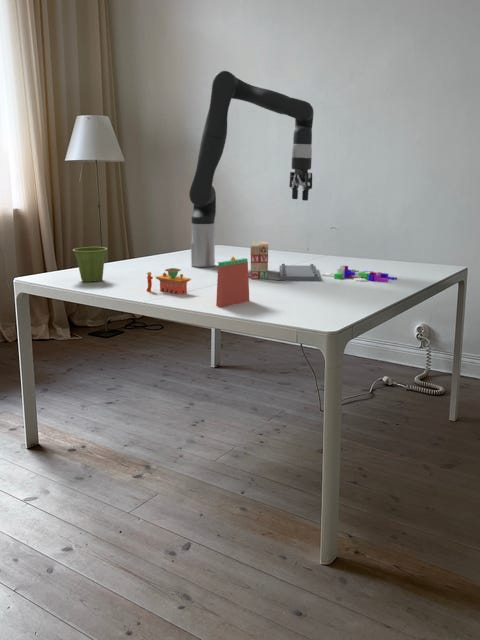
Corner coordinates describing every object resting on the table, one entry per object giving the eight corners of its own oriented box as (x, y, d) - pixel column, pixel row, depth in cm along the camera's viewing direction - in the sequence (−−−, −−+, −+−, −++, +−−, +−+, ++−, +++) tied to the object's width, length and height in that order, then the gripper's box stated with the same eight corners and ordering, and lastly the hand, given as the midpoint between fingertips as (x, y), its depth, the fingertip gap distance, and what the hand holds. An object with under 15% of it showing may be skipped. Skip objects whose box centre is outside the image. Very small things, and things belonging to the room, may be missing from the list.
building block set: (404, 278, 233) (405, 266, 232) (380, 285, 218) (381, 273, 217) (344, 271, 248) (344, 260, 247) (317, 278, 232) (318, 266, 231)
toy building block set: (221, 308, 181) (221, 259, 178) (142, 292, 203) (140, 248, 200) (249, 301, 190) (249, 254, 187) (170, 287, 213) (169, 245, 209)
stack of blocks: (250, 270, 248) (250, 238, 245) (266, 270, 248) (266, 238, 245) (250, 279, 227) (250, 245, 224) (267, 279, 227) (268, 245, 224)
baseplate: (280, 280, 224) (280, 273, 224) (279, 269, 250) (279, 263, 249) (320, 280, 224) (320, 274, 223) (314, 269, 249) (315, 263, 248)
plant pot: (80, 277, 230) (78, 246, 227) (112, 277, 229) (111, 246, 226) (70, 283, 218) (67, 250, 215) (103, 283, 217) (102, 251, 215)
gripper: (284, 156, 246) (283, 198, 250) (301, 156, 233) (299, 200, 237) (301, 157, 249) (299, 198, 253) (319, 157, 236) (317, 200, 240)
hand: (299, 199), depth 245 cm, fingers open, 8 cm apart
